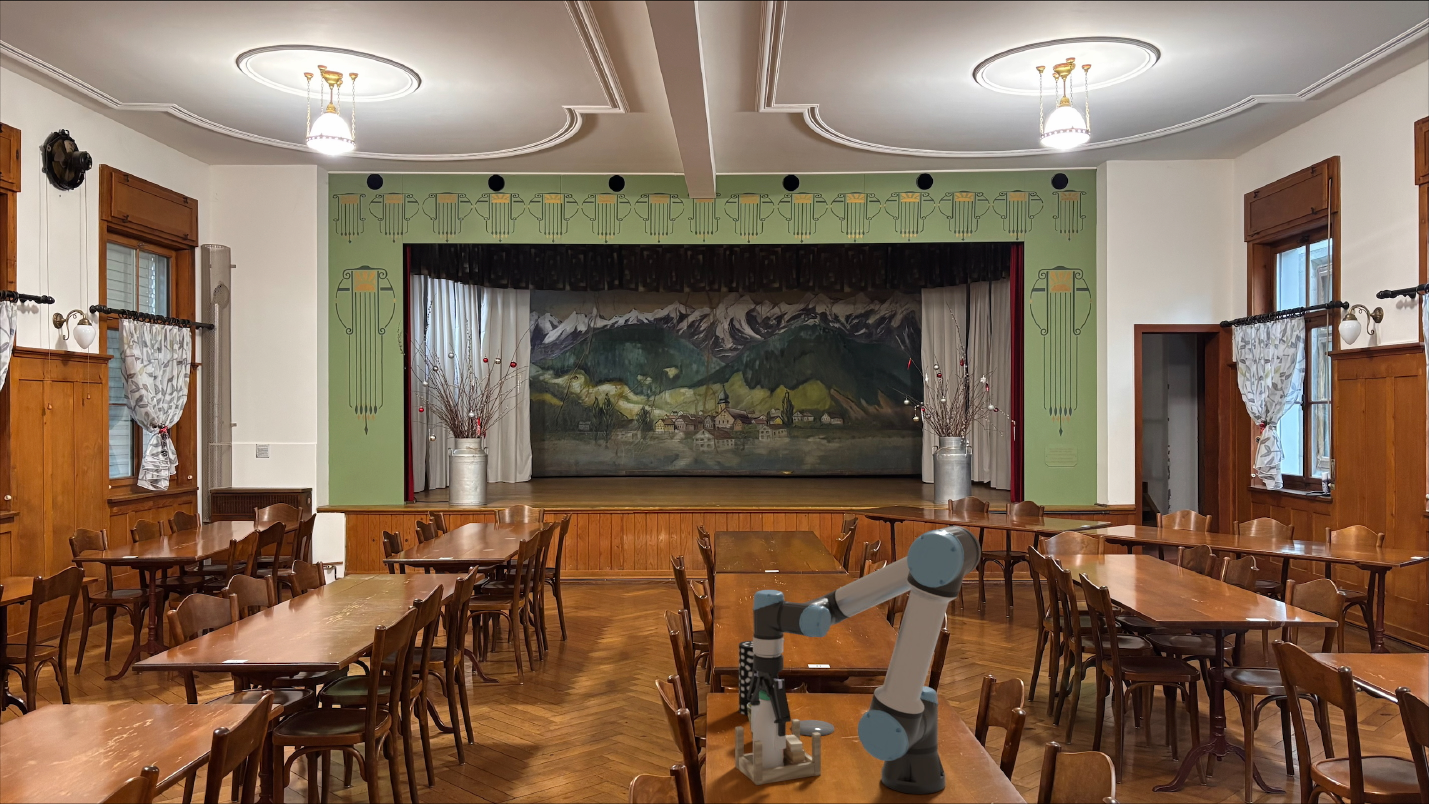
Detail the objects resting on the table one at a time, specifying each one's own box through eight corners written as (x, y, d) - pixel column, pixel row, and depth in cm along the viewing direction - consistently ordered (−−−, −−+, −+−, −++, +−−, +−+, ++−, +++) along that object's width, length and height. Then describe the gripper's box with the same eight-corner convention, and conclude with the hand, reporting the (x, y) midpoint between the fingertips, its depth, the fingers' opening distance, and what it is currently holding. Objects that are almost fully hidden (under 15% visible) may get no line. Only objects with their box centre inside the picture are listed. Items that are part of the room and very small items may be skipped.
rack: (820, 774, 236) (820, 733, 236) (756, 785, 229) (756, 743, 229) (797, 757, 248) (797, 718, 248) (735, 766, 241) (735, 726, 241)
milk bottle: (781, 779, 233) (781, 696, 233) (750, 776, 234) (750, 694, 235) (785, 767, 240) (785, 687, 241) (755, 765, 242) (755, 686, 242)
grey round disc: (841, 732, 267) (841, 730, 267) (803, 738, 262) (803, 735, 262) (821, 719, 278) (821, 717, 278) (784, 725, 273) (784, 722, 273)
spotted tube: (754, 705, 292) (753, 639, 292) (772, 711, 286) (772, 644, 286) (733, 710, 287) (733, 643, 287) (751, 717, 280) (751, 648, 281)
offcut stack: (806, 773, 237) (806, 743, 237) (791, 775, 235) (791, 745, 235) (791, 761, 245) (791, 732, 245) (776, 764, 243) (776, 734, 243)
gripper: (805, 664, 228) (804, 754, 227) (761, 641, 251) (760, 722, 251) (776, 667, 225) (776, 758, 225) (734, 643, 248) (734, 725, 248)
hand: (768, 739), depth 238 cm, fingers open, 13 cm apart
